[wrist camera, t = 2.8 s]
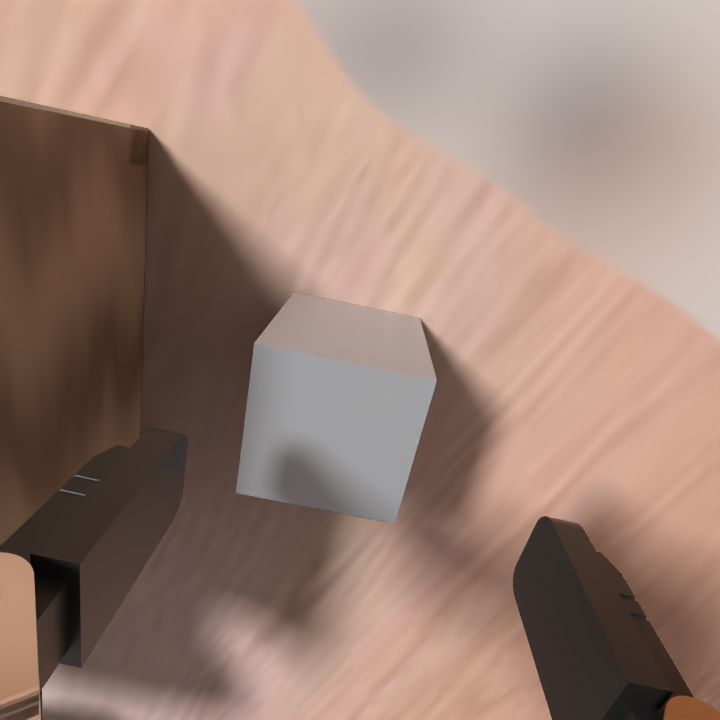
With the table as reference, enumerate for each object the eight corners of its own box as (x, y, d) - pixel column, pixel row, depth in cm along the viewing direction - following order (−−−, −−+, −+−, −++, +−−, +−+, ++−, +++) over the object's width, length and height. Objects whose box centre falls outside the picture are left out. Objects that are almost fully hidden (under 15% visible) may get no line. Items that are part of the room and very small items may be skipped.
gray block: (419, 317, 18) (437, 380, 12) (391, 426, 20) (394, 524, 14) (294, 291, 18) (254, 342, 12) (277, 403, 20) (235, 493, 14)
